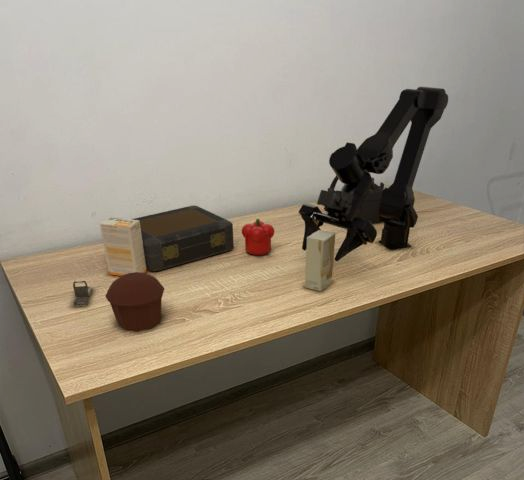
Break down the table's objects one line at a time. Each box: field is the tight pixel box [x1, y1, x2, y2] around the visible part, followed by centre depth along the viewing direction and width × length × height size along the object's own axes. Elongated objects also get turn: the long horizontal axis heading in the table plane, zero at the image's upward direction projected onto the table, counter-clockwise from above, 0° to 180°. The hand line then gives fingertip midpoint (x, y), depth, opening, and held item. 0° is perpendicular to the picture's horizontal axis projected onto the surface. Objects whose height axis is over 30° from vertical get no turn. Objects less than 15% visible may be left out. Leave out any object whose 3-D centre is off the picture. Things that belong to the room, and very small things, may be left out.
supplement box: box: [99, 216, 148, 277], centre depth 127 cm, size 8×5×13 cm, turn 70°
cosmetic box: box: [304, 229, 336, 292], centre depth 121 cm, size 6×4×12 cm
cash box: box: [131, 204, 234, 273], centre depth 141 cm, size 25×20×8 cm
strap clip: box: [72, 280, 92, 307], centre depth 118 cm, size 8×3×4 cm, turn 8°
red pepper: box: [241, 218, 275, 257], centre depth 139 cm, size 7×7×9 cm
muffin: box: [104, 272, 165, 333], centre depth 108 cm, size 12×11×10 cm
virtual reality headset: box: [327, 172, 385, 225], centre depth 163 cm, size 19×24×15 cm
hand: (319, 255), depth 120 cm, fingers open, 9 cm apart
